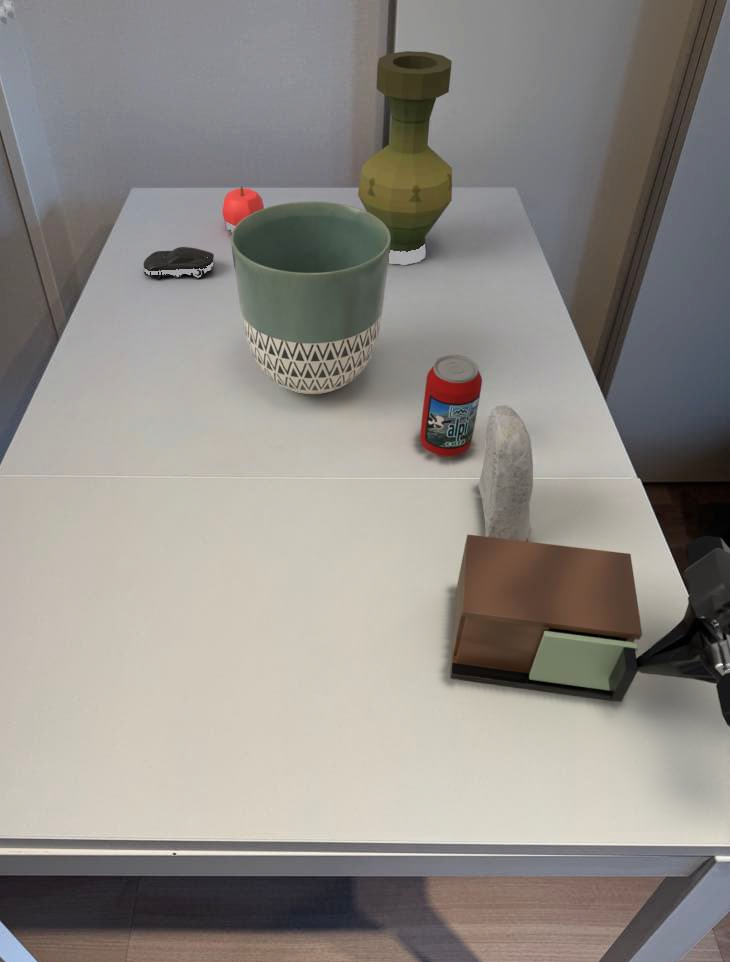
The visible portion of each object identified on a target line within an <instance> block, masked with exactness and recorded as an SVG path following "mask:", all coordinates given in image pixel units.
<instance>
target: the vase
mask: <svg viewBox="0 0 730 962" xmlns="http://www.w3.org/2000/svg"><path fill="white" fill-rule="evenodd" d="M452 62H453V61H452V60H451V59H449V58H448V57H446V56H444V55H442V54H437V53H432V52H428V51H412V50H405V51H398V52H391V53H388V54H385V55H383V56H380V57H378V62H377V67H376V68H377V69H376V90H377V91H379V92H380V93H381V94H383V95H384V96H387V99H388V104H389V109H390V110H389V111H390V116H391V117H390V118H391V119H390V131H389V132H390V134H389V144H388V145H386V146H385V147H383V148H382V149H381V150H379V151H378V152H377V153H375V154H374V155H372V156H371V157H370V158H368V159H367V160H365V161H364V162H363V163H362V167H361V171H360V176H359V183H358V190H357V196H358V198H359V200H360V202H361V204H362V205H363V207H364V209H365V211H366V212H368V213H370V214H372V215H374V216H376V217H377V218H379V219H380V220H381V221H382V222H383V223H384V224H385V225H386V226H387V228H388V230H389V232H390V236H391V243H390V250H393V251H400V252H401V251H406V252H408V251H411V250H416V249H419V248H420V247H421V246H423V245H424V244H425V242H426V237H427V236H428V234H429V232H430V231H431V230H432V229H433V227H434V226H435V224H436V223H437V221H438V220H439V218H440V217H441V216H442V215H443V213H444V212H445V210H446V209H447V208H448V206H449V205H450V204H451V202H452V201H453V199H452V198H453V167H451V166H450V164H448V163H447V162H446V161H445V160H444V159H443V158H442V157H441V156H440V155H439V154H438V153H437V152H435V151H434V150H433V148H431V147H430V146H429V145H428V144H429V134H430V133H429V132H430V119H431V116H432V113H433V110H434V107H435V103H436V101H437V98H440V97H442V96H444V95H446V94H448V93H449V92H450V83H451V82H450V81H451V75H452V65H453V64H452Z"/></svg>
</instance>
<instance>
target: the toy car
mask: <svg viewBox="0 0 730 962" xmlns="http://www.w3.org/2000/svg"><path fill="white" fill-rule="evenodd" d="M207 257H208V258H207ZM214 257H215V255H214V253H213V252H211V251H208V250H203V249H200V248H196V247H191V246H179V247H176V248H173V250H158V251H157V250H156V251H154V252H152V253H151V254H150V255H148V256H147V257H146V258H145V259H144V261H143V269H144V268H145V269H147V270H148V271H159V270H160V271H161V270H176V269H178V270H179V269H193V268H194V269H199V268H200V269H203V268H204V269H205V268H207V267H206V266H208V265H210V264H211V263H212V262H213V260H214ZM143 274H144V275H145V276H148V277H151V278H152V279H154V280H159V279H161V278H162V277H173V278H175V277H176V278H175V279H179V278H178V277H177V276H176V275H175V277H174V276H173V275H172V276H170V274H166V275H165V274H164V275H162V272H161V275H159V272H158V275H151V272H150V275H148V274H146V272H144V271H143ZM197 276H198V275H197ZM201 276H202V275H201ZM179 277H180V275H179ZM202 277H203V276H202ZM180 278H181V277H180ZM196 279H198V278H196Z"/></svg>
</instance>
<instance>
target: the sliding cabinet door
mask: <svg viewBox="0 0 730 962" xmlns="http://www.w3.org/2000/svg"><path fill="white" fill-rule="evenodd" d="M638 648H639V647H638V643H637V642H634V643H633V642H626V641H618V640H611V639H603V638H595V637H588V636H580V635H572V634H565V633H557V632H550V631H544V634H543V637H542V640H541V642H540V645H539V648H538V651H537V654H536V657H535V660H534V662H533V665H532V668H531V671H530V674H529V679H530V680H537V681H544V682H551V683H559V684H566V685H573V686H580V687H588V688H595V689H602V690H609V691H610V700H611V701H610V702H618V703H622V702H623V700H624V698H625V696H626V694H627V692H628V690H629V689H630V687H631V685H632V683H633V681H634V679H635V677H636V676H637V673H639V671H638V667H637V659H636V658H637V653H636V652H637V651H638Z"/></svg>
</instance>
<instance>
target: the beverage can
mask: <svg viewBox="0 0 730 962" xmlns="http://www.w3.org/2000/svg"><path fill="white" fill-rule="evenodd" d="M482 386H483V378H482V375H481V373H480V371H479V365H478V364H477V362H476V361H475V360H473V359H472V358H470V357H468V356H465V355H461V354H445V355H443V356H441V357H439V358H437V359H436V360H435V361H434V364H433V366H432V367H431V368H430V369H429V371H428V372H427V374H426V379H425V389H424V396H423V406H422V412H421V421H420V423H421V425H420V433H419V441H420V444H421V445H422V447H423V448H424V449H425V450H426V451H427V452H429V453H431V454H433V455H436V456H440V457H447V458H448V457H449V458H450V457H456V456H460V455H462V454H464V453H466V452H467V451H468V450H469V449H470V447H471V445H472V442H473V441H472V440H473V438H474V437H473V436H474V432H475V426H476V420H477V415H478V409H479V403H480V397H481V393H482V392H481V391H482Z"/></svg>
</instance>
